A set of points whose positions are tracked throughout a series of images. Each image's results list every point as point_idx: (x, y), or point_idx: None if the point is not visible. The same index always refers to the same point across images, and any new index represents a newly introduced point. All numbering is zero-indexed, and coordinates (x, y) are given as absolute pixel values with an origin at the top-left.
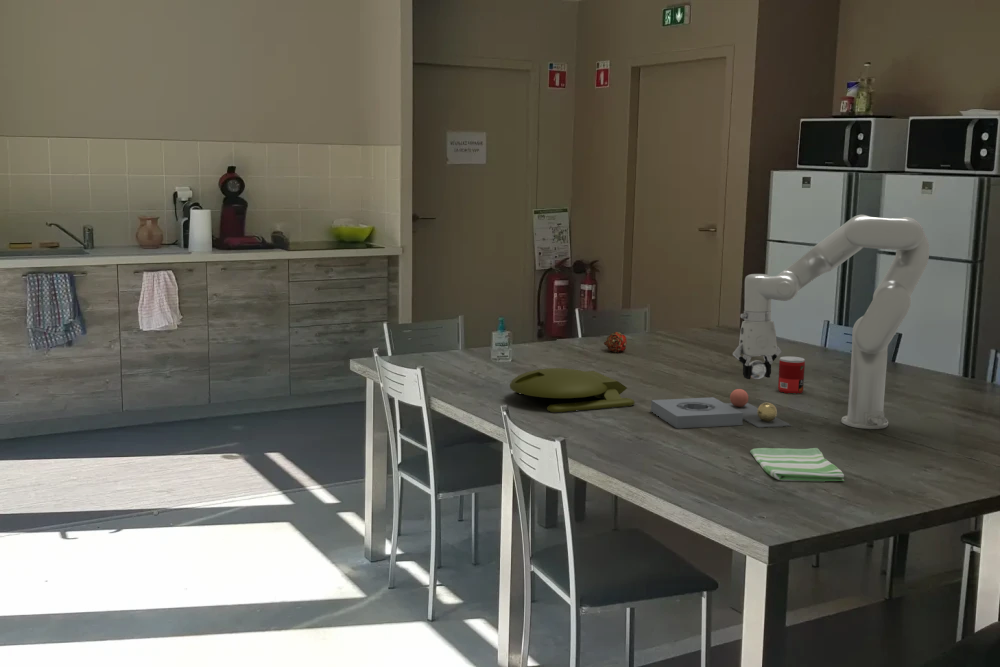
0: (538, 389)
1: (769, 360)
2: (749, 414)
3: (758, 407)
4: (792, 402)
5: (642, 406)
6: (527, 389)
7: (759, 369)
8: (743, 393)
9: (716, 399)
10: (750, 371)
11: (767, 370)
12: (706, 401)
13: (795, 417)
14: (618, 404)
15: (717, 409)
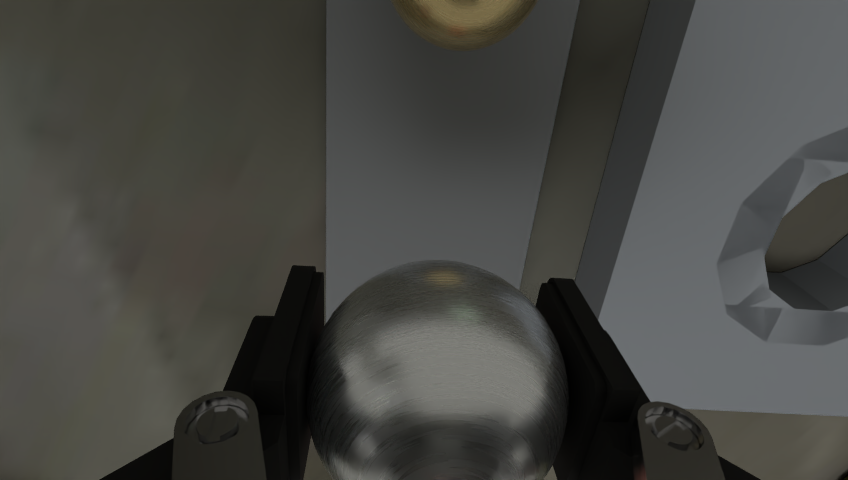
0: None
1: (241, 449)
2: (460, 177)
3: (532, 5)
4: (59, 369)
5: (827, 452)
6: None
7: (483, 302)
8: None
9: None
10: (577, 333)
11: (310, 328)
12: (685, 333)
13: (173, 52)
14: None
15: (793, 128)
